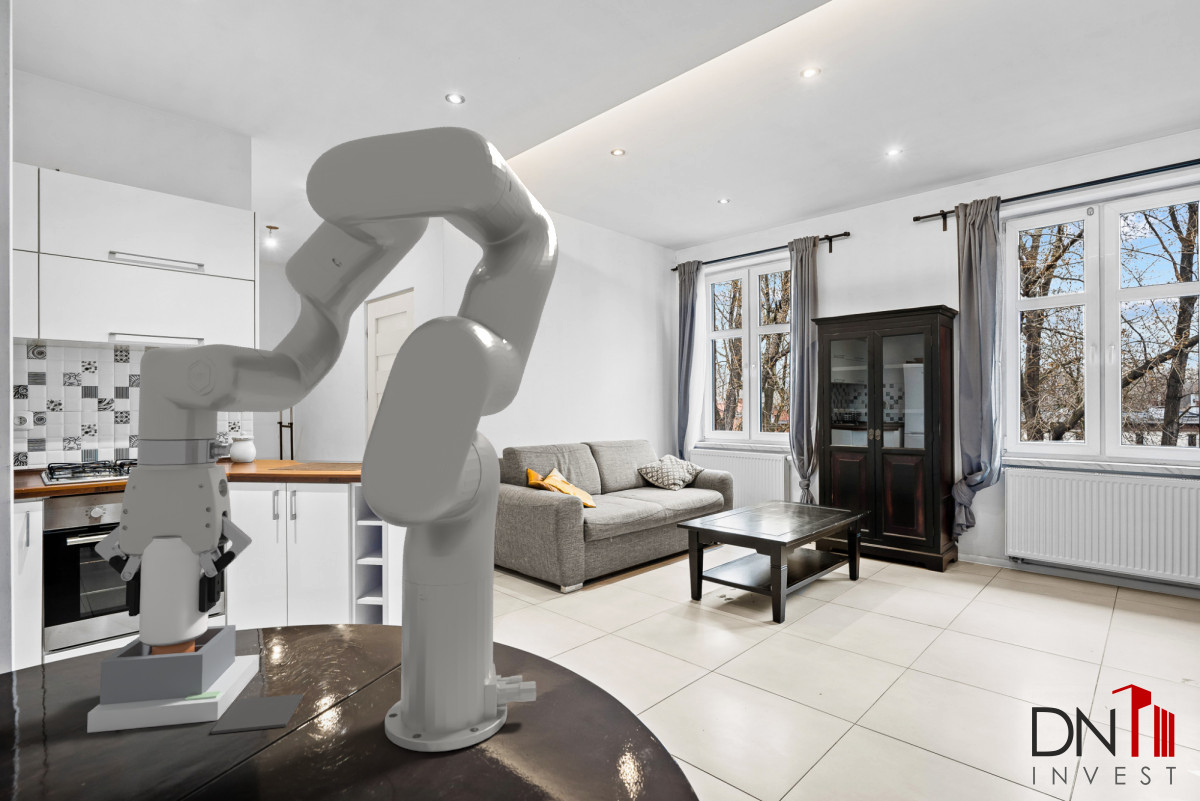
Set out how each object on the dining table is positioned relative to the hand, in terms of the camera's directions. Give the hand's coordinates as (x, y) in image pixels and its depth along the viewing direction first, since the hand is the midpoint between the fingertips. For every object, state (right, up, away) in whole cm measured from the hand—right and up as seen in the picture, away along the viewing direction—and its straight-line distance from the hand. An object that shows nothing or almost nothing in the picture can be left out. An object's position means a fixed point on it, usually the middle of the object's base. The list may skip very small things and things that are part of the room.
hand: (174, 609), depth 69 cm
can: (0, -3, 0) cm, 3 cm away
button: (0, -6, 0) cm, 6 cm away
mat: (+12, -10, -4) cm, 16 cm away
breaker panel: (+1, -10, 0) cm, 10 cm away
